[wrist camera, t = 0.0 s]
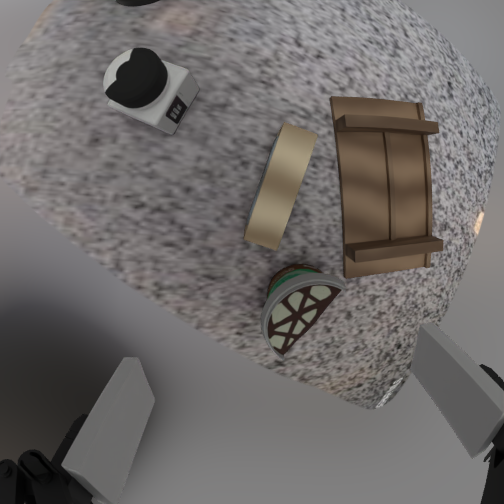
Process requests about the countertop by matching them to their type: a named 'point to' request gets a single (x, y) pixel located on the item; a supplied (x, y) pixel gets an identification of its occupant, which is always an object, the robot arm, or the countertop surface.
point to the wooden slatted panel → (384, 185)
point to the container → (149, 89)
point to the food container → (296, 304)
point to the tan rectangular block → (279, 186)
